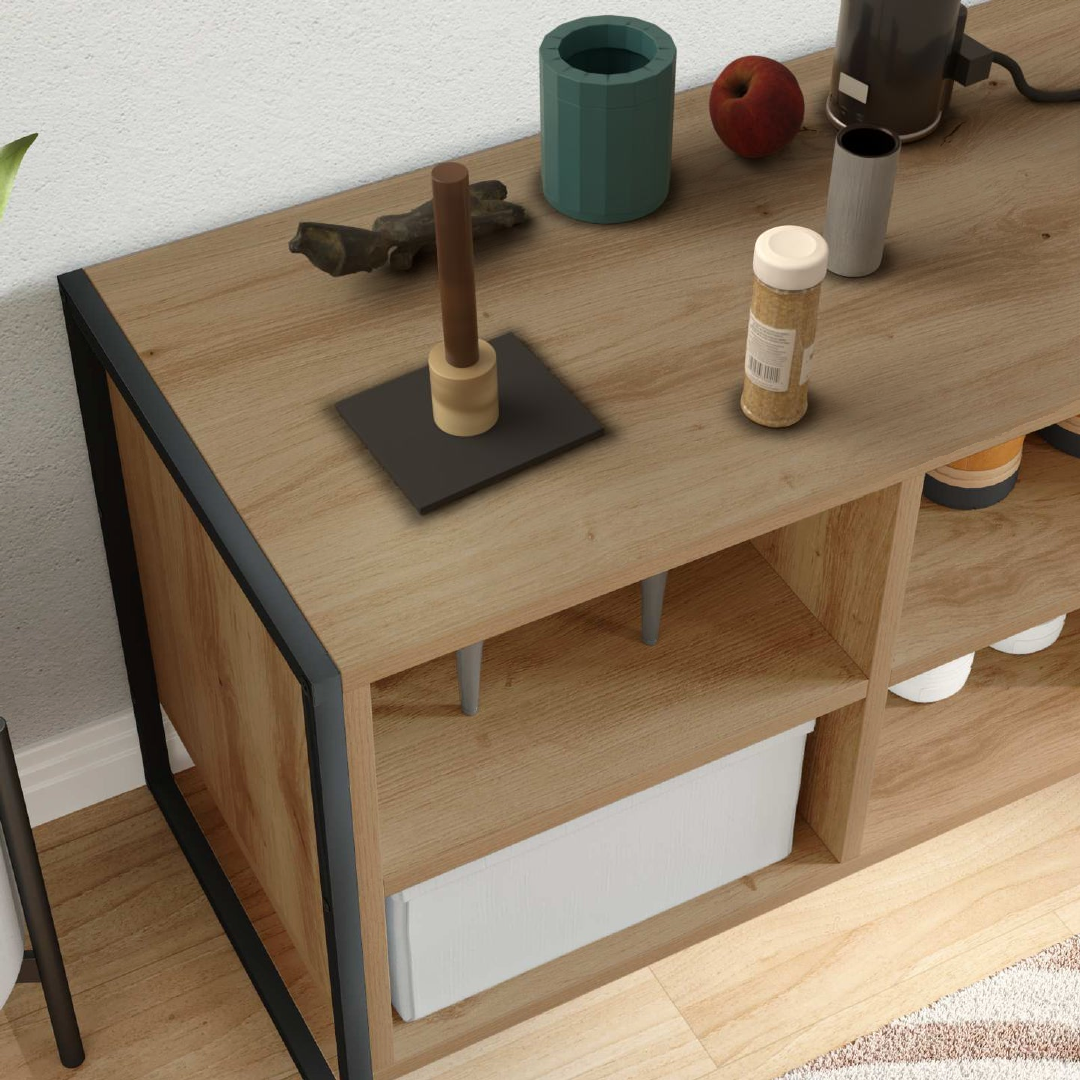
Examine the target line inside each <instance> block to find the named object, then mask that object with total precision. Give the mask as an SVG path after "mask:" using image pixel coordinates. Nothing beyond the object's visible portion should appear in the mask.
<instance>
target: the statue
mask: <svg viewBox="0 0 1080 1080" xmlns="http://www.w3.org/2000/svg"><path fill="white" fill-rule="evenodd" d="M469 189H470V206H471V223H472V231H474V230H476V229H478V228H483V227H489V226H494V227H495V226H496V227H499V226H500V227H501V226H502V227H507V228H512V227H513V225H519V224H522V223H524V222H525V221H526V218H527V216H526V212H525V211H526V208H525V207H524V208H523V206H522V205H520V204H516V203H513V202H511V201H506V199H507V198H508V194H509V193H508V189H507V185H505V184H504V183H502V181H500V180H498V179H489V180H481V181H478V182H474V183H471V184H470V183H469ZM430 242H436V232H435V220H434V207H433V197H432V198H431V199H430V200H428V201H426V202H424V203H423V204H420V205H419V206H417V207H415V208H412V209H410V211H409V212H404V213H403V212H402V213H397V214H394V213H393V214H392V213H391V214H386V215H381V216H378V217H377V218H375V220H374V221H373V224H372V226H371V230H370V229H367V228H363V227H362V228H361V227H354V226H349V225H344V224H336V223H335V224H334V223H326V222H316V221H300V222H298V226H297V230H296V234H295V236H293V237H292V238H291V239H289V241H288V242H287V244H288V250H289V251H290V253H291V254H302V255H304V256H305V257H306V258H307V259H308V261H309V262H310V263H311V264H312V265H313V266H314V267H315V268H316V269H318V270H319V271H321V272H324V273H327V274H328V275H329V276H331V277H332V278H339V277H345V276H349V275H352V274H353V275H354V274H358V273H361V272H366V273H368V274H370V273H372V272H373V270H378V269H379V268H381V267H384V266H385V265H386V264H387V263H389V268H390V269H392V270H393V271H405V270H408V269H410V268H411V267H412V264H413V260H414V259H413V258H414V256H415V255H416V254H417V253H418V252H419V250H420V248H421V247H422V245H425V244H426V243H430ZM394 247H396V248H395V249H394V250H393V251H392V252H391V253H390V255H389V251H390V249H392V248H394Z"/></svg>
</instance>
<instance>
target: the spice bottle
mask: <svg viewBox="0 0 1080 1080" xmlns="http://www.w3.org/2000/svg"><path fill="white" fill-rule="evenodd" d="M822 236H823V235H820V234H819V233H818V232H816V231H814V230H812V229H810V228H807V227H804V226H799V225H790V224H789V225H780V226H774V227H773V228H772V227H771V228H769V229H767V230H765V231H764V232H763V233H761V234H760V235H759V236H758V238H757V239H756V241H755V244H754V252H753V260H752V261H753V262H752V269H753V273H754V279H753V287H752V296H751V297H752V299H751V303H750V308H749V317H748V318H749V319H748V327H747V337H746V338H747V339H746V347H745V348H746V349H745V357H744V358H745V361H744V383H743V390H742V393H741V398H740V408H741V410H742V412H743V413H744V415H745V416H746V417H747V418H748V419H750V420H751V421H753V422H754V423H756V424H758V425H761V426H765V427H768V428H782V427H789V426H792V425H793V424H796V423H797V422H799V421H800V420H801V419H802V418H803V417H804V416H805V414H806V412H807V410H808V391H809V383H810V382H809V381H810V376H811V373H812V367H813V358H814V352H815V344H816V336H817V335H816V334H817V326H818V311H819V305H820V298H821V290H822V289H821V288H822V283H823V282H824V278H825V277H826V274H827V270H828V269H827V264H828V254H829V248H828V245H827V242H826V241H825V239H824V238H823V237H822Z"/></svg>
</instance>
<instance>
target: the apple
mask: <svg viewBox="0 0 1080 1080" xmlns="http://www.w3.org/2000/svg"><path fill="white" fill-rule="evenodd" d="M804 97H805V96H804V94H803V91H802V89H801V86H800V84H799V81H798V79H797V78H796V76H795V75H794V73H793V72H792V71H791V70H790V69H789V68H788V67H787V66H785V64H783V63H781V62H780V61H777V60H776V59H773V58H771V57H767V56H762V55H756V54H755V55H752V54H751V55H744V56H740V57H738V58H735V59H734V60H732V61H731V62H730V63H728V64H727V65H726V66H725V67H724V69H723V70H722V71H721V72H720V74H719V75H718V76H717V78H716V79H715V80H714V82H713V85H712V87H711V90H710V95H709V101H708V110H709V116H710V120H711V124H712V127H713V129H714V132H715V134H716V135H717V136H718V138H719V140H720V141H721V142H722V144H723V145H724V146H725V147H726V148H728V150H729V151H731V152H733V153H734V154H736V155H739V156H741V157H745V158H750V159H751V158H753V159H754V158H762V157H763V158H764V157H767V156H771V155H772V154H774V153H775V154H776V153H777V152H779V151H781V150H782V149H784V148H786V146H788V145H789V144H790V143H791V142H792V141H793V140H794V139H795V138H796V136H797V135H798V133H799V132H800V129H801V127H802V125H803V123H804V120H805V119H804V117H805V112H806V111H805V109H806V108H805V107H806V105H805V98H804Z"/></svg>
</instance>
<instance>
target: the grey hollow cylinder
mask: <svg viewBox="0 0 1080 1080" xmlns="http://www.w3.org/2000/svg"><path fill="white" fill-rule="evenodd" d="M901 148H902V143H901V140H900V137H899V136H898V134H897V133H896V132H894V131H893V130H892V129H890V128H888V127H886V126H883V125H879V124H875V123H856V124H852V125H849V126H846V127H844V128H843V129H841V130H838V132H837V134H836V137H835V141H834V147H833V149H834V151H833V155H832V164H831V169H830V170H831V171H830V178H829V186H828V193H827V201H826V208H825V215H824V222H823V228H822V229H823V230H822V231H823V232H822V235H821V236H822V237H823V238H824V239H825V241H826V242H827V245H828V248H829V254H828V264H827V270H828V271H830V272H831V273H833V274H836V275H839V276H841V277H842V276H843V277H849V278H860V277H864V276H865V277H866V276H869V275H871V274H873V273H874V272H876V271H877V270H878V269H879V267H880V265H881V263H882V260H883V253H884V247H885V242H886V235H887V230H888V224H889V219H890V213H891V207H892V202H893V195H894V189H895V183H896V177H897V172H898V167H899V166H898V165H899V160H900V154H901Z"/></svg>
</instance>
